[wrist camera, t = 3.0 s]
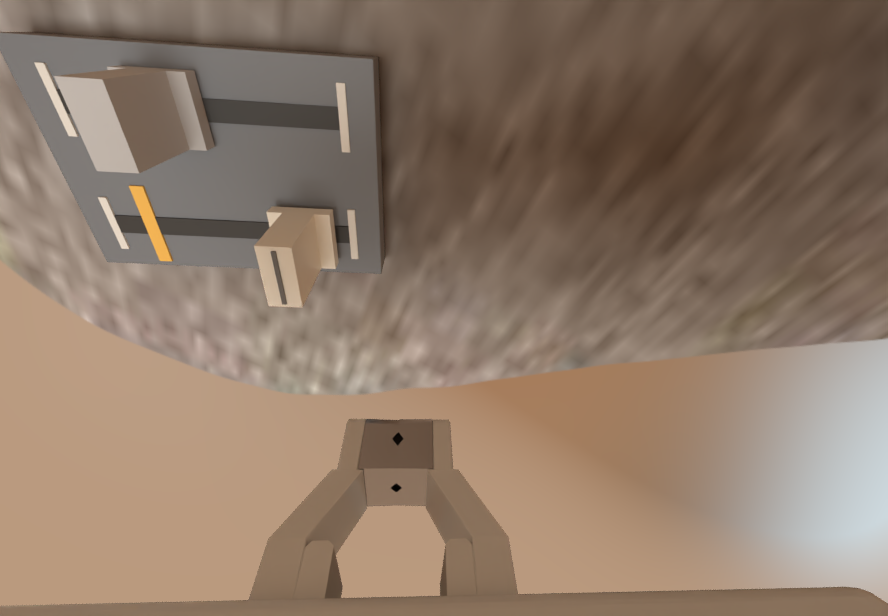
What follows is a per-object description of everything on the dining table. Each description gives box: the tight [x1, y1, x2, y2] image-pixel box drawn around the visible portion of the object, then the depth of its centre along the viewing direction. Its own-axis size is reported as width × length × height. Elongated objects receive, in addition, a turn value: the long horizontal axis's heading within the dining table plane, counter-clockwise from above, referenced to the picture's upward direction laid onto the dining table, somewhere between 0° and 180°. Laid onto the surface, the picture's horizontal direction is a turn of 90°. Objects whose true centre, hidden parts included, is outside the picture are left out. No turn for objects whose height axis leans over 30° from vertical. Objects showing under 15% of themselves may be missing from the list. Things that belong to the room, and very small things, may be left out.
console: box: [0, 32, 385, 274], centre depth 19 cm, size 16×11×7 cm
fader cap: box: [254, 206, 339, 307], centre depth 19 cm, size 3×3×5 cm
